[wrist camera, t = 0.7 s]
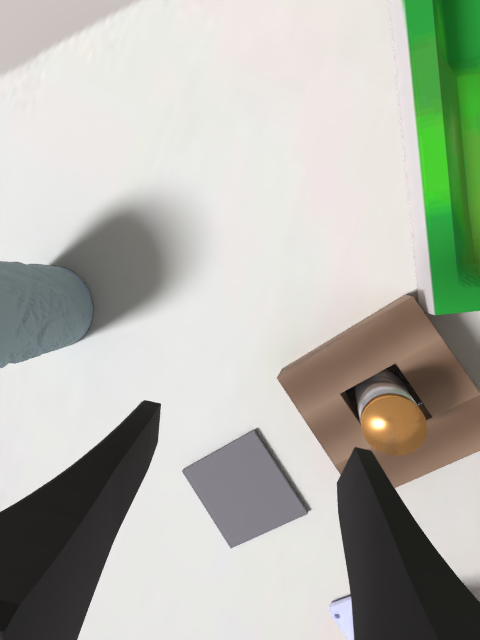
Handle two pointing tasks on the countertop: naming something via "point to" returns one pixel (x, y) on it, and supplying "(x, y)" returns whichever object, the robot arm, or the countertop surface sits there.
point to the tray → (441, 145)
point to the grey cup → (40, 310)
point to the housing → (371, 358)
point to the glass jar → (389, 415)
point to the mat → (244, 490)
